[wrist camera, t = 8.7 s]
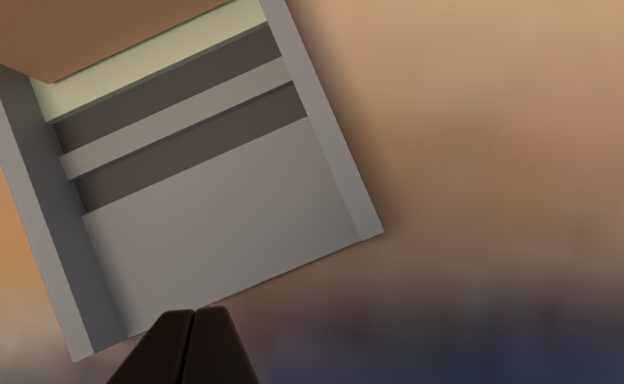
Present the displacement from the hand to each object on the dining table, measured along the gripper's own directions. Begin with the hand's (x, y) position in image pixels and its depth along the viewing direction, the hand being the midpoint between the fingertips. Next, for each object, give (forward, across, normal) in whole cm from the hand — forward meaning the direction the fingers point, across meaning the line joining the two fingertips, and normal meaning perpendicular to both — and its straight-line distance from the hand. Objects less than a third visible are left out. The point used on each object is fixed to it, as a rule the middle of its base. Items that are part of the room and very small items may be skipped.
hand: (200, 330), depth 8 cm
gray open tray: (+16, +3, +3) cm, 16 cm away
